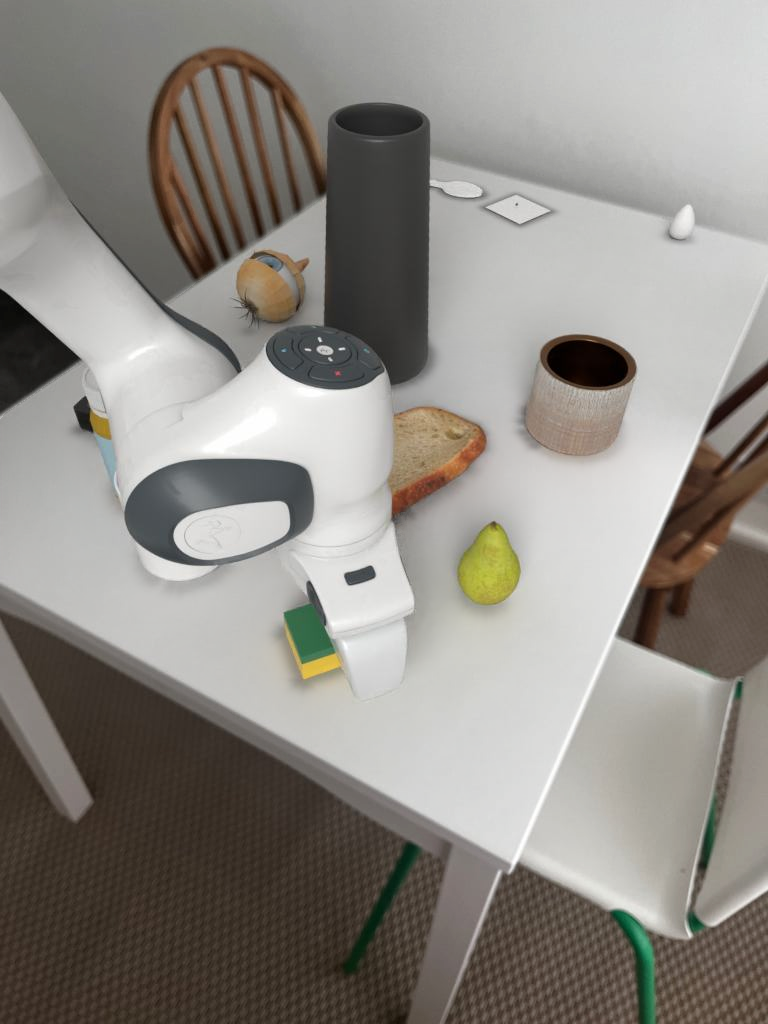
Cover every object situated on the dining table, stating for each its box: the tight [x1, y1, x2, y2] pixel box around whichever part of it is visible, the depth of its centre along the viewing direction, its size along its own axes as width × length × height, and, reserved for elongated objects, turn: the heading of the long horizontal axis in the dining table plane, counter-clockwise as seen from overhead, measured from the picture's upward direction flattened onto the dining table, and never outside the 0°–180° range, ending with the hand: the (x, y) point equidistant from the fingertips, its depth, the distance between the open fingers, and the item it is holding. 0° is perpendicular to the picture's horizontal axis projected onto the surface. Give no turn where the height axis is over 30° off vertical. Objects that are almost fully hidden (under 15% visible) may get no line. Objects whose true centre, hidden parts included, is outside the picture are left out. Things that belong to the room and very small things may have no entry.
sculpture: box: [228, 249, 310, 329], centre depth 100 cm, size 9×9×15 cm
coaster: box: [485, 194, 551, 225], centre depth 127 cm, size 8×8×1 cm
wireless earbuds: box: [72, 395, 94, 434], centre depth 85 cm, size 5×7×3 cm, turn 69°
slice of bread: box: [387, 405, 487, 519], centre depth 81 cm, size 18×18×4 cm
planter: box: [525, 333, 638, 456], centre depth 85 cm, size 11×11×10 cm
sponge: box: [283, 603, 341, 680], centre depth 66 cm, size 8×5×4 cm, turn 113°
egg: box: [668, 203, 696, 240], centre depth 120 cm, size 4×4×6 cm
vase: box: [323, 101, 431, 386], centre depth 87 cm, size 14×14×29 cm
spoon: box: [430, 179, 483, 199], centre depth 134 cm, size 5×18×1 cm, turn 65°
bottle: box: [81, 366, 119, 500], centre depth 74 cm, size 7×7×15 cm
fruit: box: [457, 520, 522, 606], centre depth 67 cm, size 6×6×12 cm
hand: (336, 632), depth 66 cm, fingers closed on sponge, 5 cm apart
